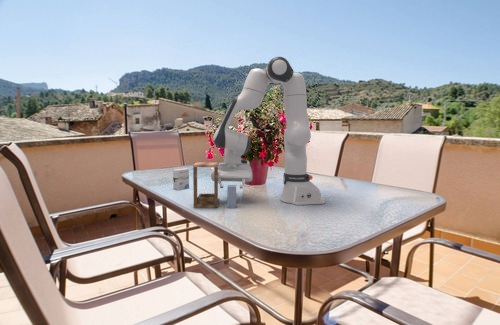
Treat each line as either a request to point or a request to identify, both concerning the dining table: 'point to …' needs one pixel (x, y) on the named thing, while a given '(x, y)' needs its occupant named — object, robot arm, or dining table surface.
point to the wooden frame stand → (206, 199)
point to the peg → (231, 196)
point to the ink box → (180, 179)
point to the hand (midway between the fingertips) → (231, 187)
